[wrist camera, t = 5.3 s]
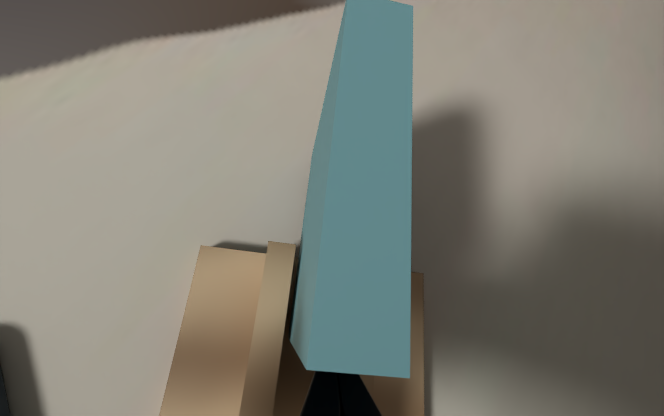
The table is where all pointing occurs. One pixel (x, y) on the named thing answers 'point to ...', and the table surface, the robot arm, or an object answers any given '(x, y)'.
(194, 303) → the stand
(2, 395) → the smartphone
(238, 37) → the table surface
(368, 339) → the panel
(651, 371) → the table surface
